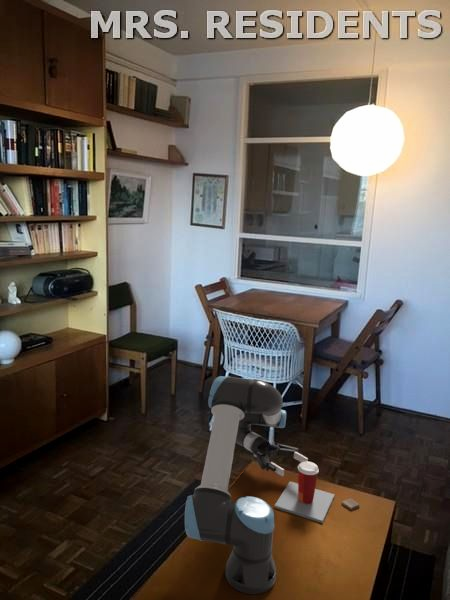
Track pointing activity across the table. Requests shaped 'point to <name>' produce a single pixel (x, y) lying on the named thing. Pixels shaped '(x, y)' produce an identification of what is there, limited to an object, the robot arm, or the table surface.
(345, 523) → the table surface
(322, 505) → the slate board
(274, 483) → the table surface
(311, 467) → the paper cup
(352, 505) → the block
